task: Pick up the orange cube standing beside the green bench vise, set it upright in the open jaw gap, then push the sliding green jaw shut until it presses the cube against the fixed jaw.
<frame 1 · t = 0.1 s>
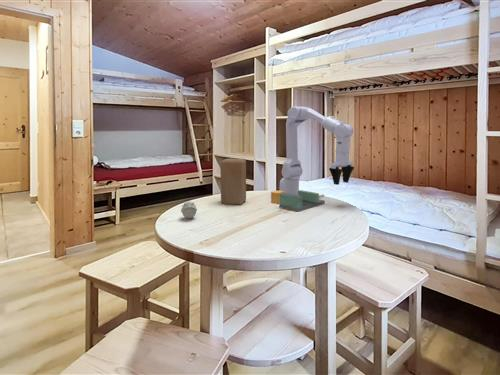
hand: (341, 183, 148), 10 cm above the table, tool pointing down, fingers open, 7 cm apart
grey rounded lump: (189, 219, 130), on the table
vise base: (302, 205, 150), on the table
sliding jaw: (311, 195, 154), point 4 cm above the table, slide at 0.0 cm
orange cube: (277, 202, 156), on the table
block: (233, 202, 156), on the table
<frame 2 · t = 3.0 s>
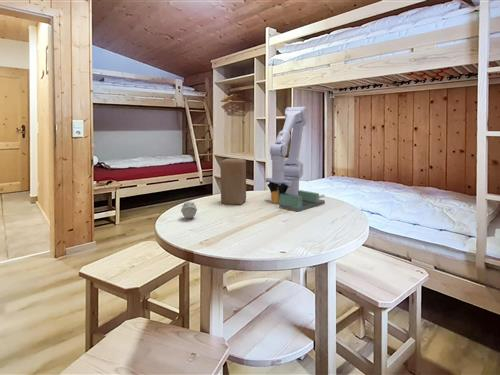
hand: (277, 199, 156), 1 cm above the table, tool pointing down, fingers closed on orange cube, 4 cm apart
orange cube: (277, 202, 156), on the table, touching gripper
everything else where it was.
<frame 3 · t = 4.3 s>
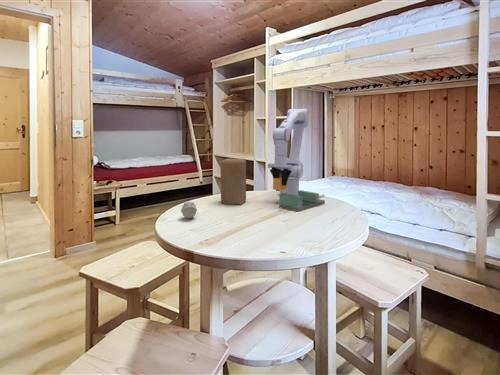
hand: (280, 184, 154), 8 cm above the table, tool pointing down, fingers closed on orange cube, 4 cm apart
orange cube: (280, 189, 154), point 6 cm above the table, touching gripper
everything else where it was.
when the fingers open (4 cm above the table, at t = 6.2 s): orange cube stays where it is, resting on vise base.
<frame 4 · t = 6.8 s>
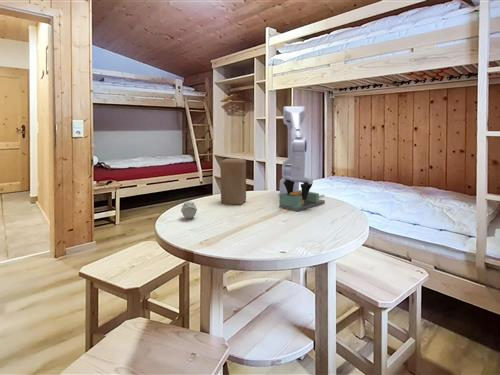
hand: (297, 198, 147), 4 cm above the table, tool pointing down, fingers open, 7 cm apart
orange cube: (296, 203, 147), point 1 cm above the table, touching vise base
everything else where it was.
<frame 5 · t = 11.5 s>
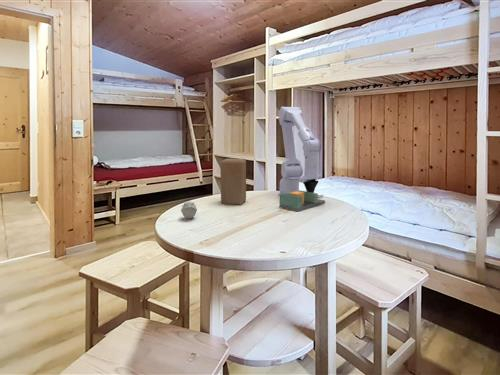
hand: (310, 196, 153), 3 cm above the table, tool pointing down, fingers closed
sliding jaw: (310, 195, 153), point 4 cm above the table, slide at 0.8 cm, touching gripper
everything else where it was.
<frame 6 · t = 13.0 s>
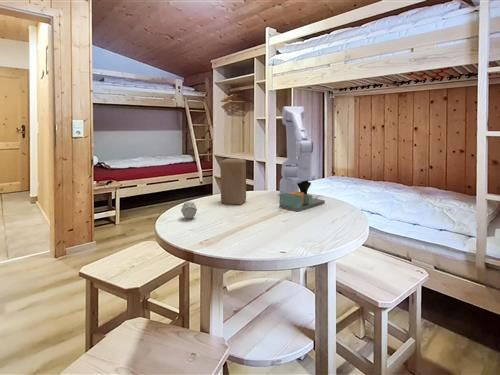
hand: (303, 197, 150), 3 cm above the table, tool pointing down, fingers closed, pressing on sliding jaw
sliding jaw: (304, 197, 150), point 4 cm above the table, slide at 5.0 cm, touching gripper, orange cube
orange cube: (296, 203, 147), point 2 cm above the table, touching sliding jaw, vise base
everything else where it was.
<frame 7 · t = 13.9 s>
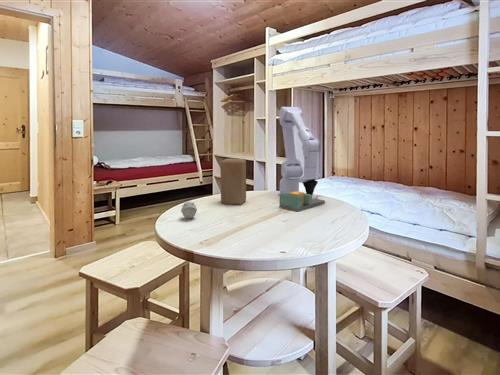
hand: (309, 196, 153), 3 cm above the table, tool pointing down, fingers closed
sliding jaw: (304, 197, 150), point 4 cm above the table, slide at 5.0 cm, touching orange cube
everything else where it was.
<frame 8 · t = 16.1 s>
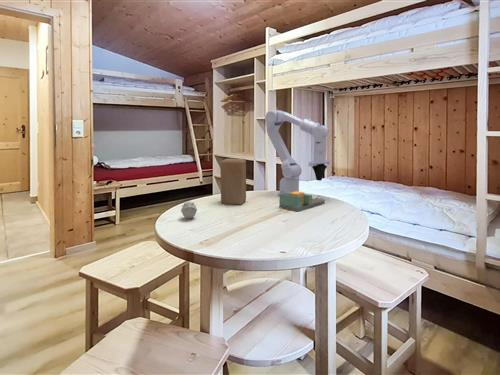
hand: (318, 180, 160), 9 cm above the table, tool pointing down, fingers closed
nothing on the table moved.
at the end: orange cube 0.0 cm from the target spot, point 1.5 cm above the table; orange cube tilted 0°; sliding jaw slide at 5.0 cm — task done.
